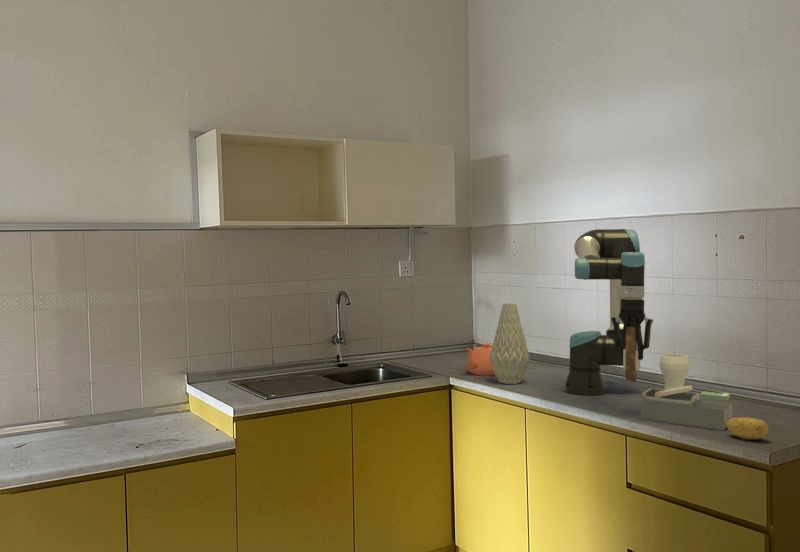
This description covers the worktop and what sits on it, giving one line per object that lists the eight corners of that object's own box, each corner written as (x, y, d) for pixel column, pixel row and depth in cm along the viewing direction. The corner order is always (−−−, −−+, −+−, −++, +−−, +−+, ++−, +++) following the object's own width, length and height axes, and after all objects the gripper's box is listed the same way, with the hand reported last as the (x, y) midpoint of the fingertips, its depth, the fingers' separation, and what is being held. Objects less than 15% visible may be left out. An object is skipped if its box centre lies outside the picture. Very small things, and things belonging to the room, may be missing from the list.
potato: (761, 444, 200) (762, 422, 200) (722, 437, 209) (722, 415, 208) (771, 440, 205) (772, 419, 204) (732, 433, 213) (733, 412, 213)
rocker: (655, 397, 232) (654, 393, 232) (659, 395, 236) (658, 391, 236) (689, 391, 226) (688, 386, 226) (692, 388, 229) (691, 384, 230)
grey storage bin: (640, 419, 231) (641, 393, 230) (652, 411, 241) (652, 387, 241) (723, 430, 216) (724, 402, 216) (732, 422, 227) (732, 395, 227)
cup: (654, 392, 275) (655, 353, 275) (680, 391, 276) (681, 353, 276) (667, 397, 265) (667, 357, 264) (694, 397, 265) (695, 357, 265)
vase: (509, 377, 308) (509, 301, 307) (537, 383, 294) (538, 304, 293) (480, 381, 298) (480, 303, 297) (508, 387, 284) (509, 305, 283)
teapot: (479, 379, 304) (479, 347, 304) (451, 373, 317) (451, 344, 316) (517, 372, 320) (517, 343, 320) (490, 368, 333) (490, 339, 332)
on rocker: (699, 397, 224) (699, 393, 224) (703, 395, 228) (703, 390, 228) (726, 400, 219) (726, 396, 219) (730, 398, 223) (730, 393, 223)
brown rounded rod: (623, 380, 235) (624, 326, 235) (627, 379, 238) (627, 326, 238) (634, 382, 233) (635, 327, 233) (637, 380, 236) (638, 326, 236)
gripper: (604, 298, 237) (603, 368, 238) (654, 300, 228) (653, 372, 228) (611, 297, 243) (611, 365, 244) (660, 298, 234) (660, 369, 235)
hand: (631, 368), depth 236 cm, fingers closed on brown rounded rod, 3 cm apart
